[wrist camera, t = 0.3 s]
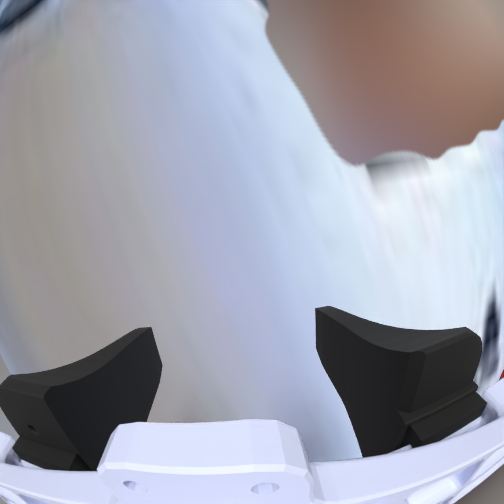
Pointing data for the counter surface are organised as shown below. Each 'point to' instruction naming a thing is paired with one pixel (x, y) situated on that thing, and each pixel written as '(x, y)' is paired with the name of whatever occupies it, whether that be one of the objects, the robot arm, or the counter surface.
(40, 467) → the robot arm
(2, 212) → the counter surface
